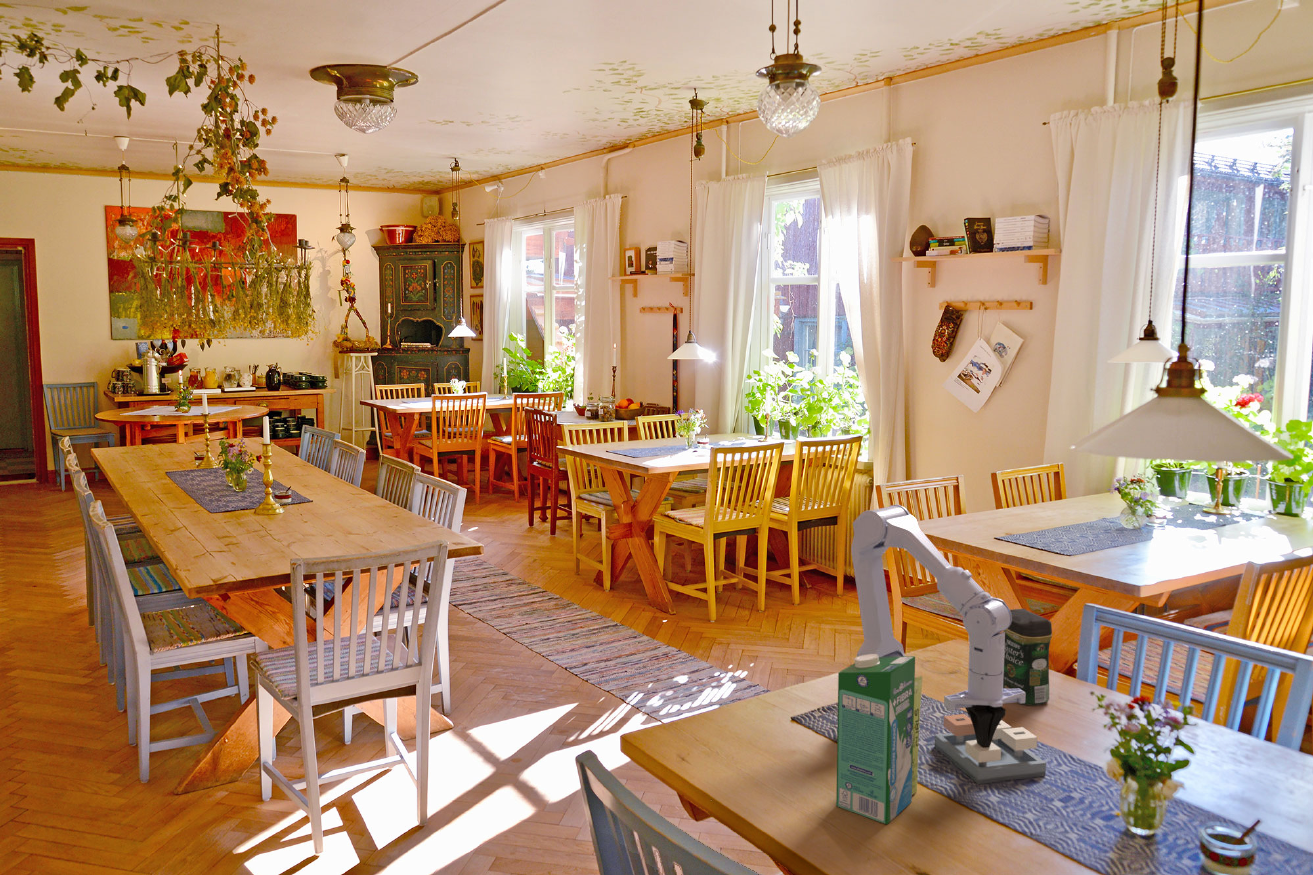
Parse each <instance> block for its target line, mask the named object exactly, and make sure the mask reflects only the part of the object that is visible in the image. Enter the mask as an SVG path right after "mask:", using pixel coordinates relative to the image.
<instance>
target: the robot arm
mask: <svg viewBox="0 0 1313 875" xmlns="http://www.w3.org/2000/svg"><path fill="white" fill-rule="evenodd" d="M918 523H919V522H918V520H917V518H916V517H915V516H913V515H912V514H911V513H910V512H909V510H908V509H907V508H906V507H905V506H902V505H901V504H892V505H890V506H889V505H888V506H886V507H881V508H876V509H872V510H870V509H869V510H865V511H863V512H861V513H860V514H859V515H858V516H857V517H856V519H855V520H854V521H853V522H852V526H853V539H852V544H851V548H850V550H851V556H852V557H851V559H852V564H853V571H854V579H855V584H856V585H855V586H856V593H857V597H858V600H857V601H858V603H859V604H858V605H859V606H858V607H859V612H860V619H861V627H862V633H863V640H864V641H863V642H862V644H861V646H860V647H859V649H858V650H857V652H856V657H858V656H861V655H866V654H877V655H878V657H904V656H906V654H905V652H904V647H903V644H902V643H901V642H900V641H899V640H897V638H895V637H894V631H893V625H892V624H893V623H892V617H891V611H890V603H889V598H888V591H887V590H888V589H887V585H886V584H887V582H886V578H885V571H884V570H885V569H884V563H883V555H884V554H885V552H886V551H888V549H889V548H898V549H904V550H905V551H907V552H908V553H909V554H910V555H911V556H912V557H913V558H914V559H915V560H916V561H917V562H919V564H921V566H923V567H924V569H926V570H927V571H928V572H929V573H930V574H931V575H932V576H933V577H934V578H935V579H936V588H937V591H939V592H940V594H941V595H942V596H943V597H944V598H945V599H946V600H947V601H948V603H950V604H951V605H952V606H953V608H954V609H956V611H957V612H958V613H959V614H960V616H962V623H963V626H964V628H965V631H966V632H967V634H968V647H969V648H968V670H967V672H968V676H967V689H966V690H963V691H959V692H957V693H953V694H949V695H944V700H943V701H944V702H943V707H944V708H945V709H947V710H948V711H949V712H952V711H956V709H964V708H965V710H966V712H967V714H968V717H969V718H970V719H971V721H972V724H973V727H974V731H975V735H976V740H977V743H978V744H979V745H980V746H981V747H983V748H985V747H990V745H991V742H992V738H993V735H994V733H995V730H996V728H997V726H998V724H999V723H1000V721H1001V720H1002V721H1003V718H1004V717H1005V716H1006V708H1004V707H1003V704H1011V703H1012V704H1013V703H1017V702H1018V703H1017V704H1020V703H1025V696H1026V693H1025V692H1024V691H1022V690H1021V689H1019V688H1018V689H1003V674H1004V648H1005V632H1004V630H1006V629H1007V628H1008V627H1009V626H1010V624H1011V621H1012V615H1011V611H1010V610H1011V609H1010V607H1009V606H1008V605H1007V603H1006V602H1005V601H1004V600H1003V599H1001V598H998V597H994V596H991V594H990V593H989V592H988V591H987V592H986V591H985V590H984V589H983V588H982V587H981V586H980V584H978V583H977V582H976V581H975V580H974V579H973V576H972V575H973V574H972V573H971V572H970V571H969V570H968V569H963V568H962V567H960V566H953V565H951V563H949V562H948V560H947V559H946V558H945V557H944V556H943V554H942V553H941V552H940V551H939V549H938V548H937V547H936V546H935V545H934V544H933V542H931V540H930V539H929V538H928V536H927V535H926V534H925V533H924V532H923V531H922V529H921V528H920V527H919V524H918Z"/></svg>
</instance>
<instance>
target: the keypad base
mask: <svg viewBox="0 0 1313 875" xmlns="http://www.w3.org/2000/svg"><path fill="white" fill-rule="evenodd" d="M971 740H976V735H975V734H972V735H964V742H957V741H956V736H955V735H954V734H952V733H951V732H947V733H938V734H934V748H935V749H936V750H938V751H939V752H940V754H942V755H943V756H944V757H946V759H948V760H949V761H950V762H951V763H953V764H954V766H956V767H957V768H958V769H959V770H961V771H962V772H963V773H964V774H965V775H966V776H967V777H968V778H970V779H971V780H973V782H975V783H976V784H977V785H982V784H990V783H991V784H992V783H999V782H1009V781H1014V780H1022V779H1023V780H1024V779H1032V778H1039V777H1046V773H1047V772H1046V771H1047V770H1046V769H1047V768H1046V767H1047V763H1046V761H1044V760H1043V759H1041V758H1040V757H1039V756H1038V755H1036V754H1034V752H1032V751H1030V749H1025V750H1023V756H1022V757H1017V756H1015V755H1014V749H1012V748H1011V747H1010V746H1008V745H1007V744H1006V743H1004V742H1003V741H1002V740H1001V739H998V745H997V746H998V747H999V748H1000V749H1001V760H997V761H989V762H987V767H981V768H980V767H979V766H978V762H977V761H976V760H975V759H974V758H972V757H971V756H970V755H969V754H967V753H966V752H965V751H966V741H971Z"/></svg>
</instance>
